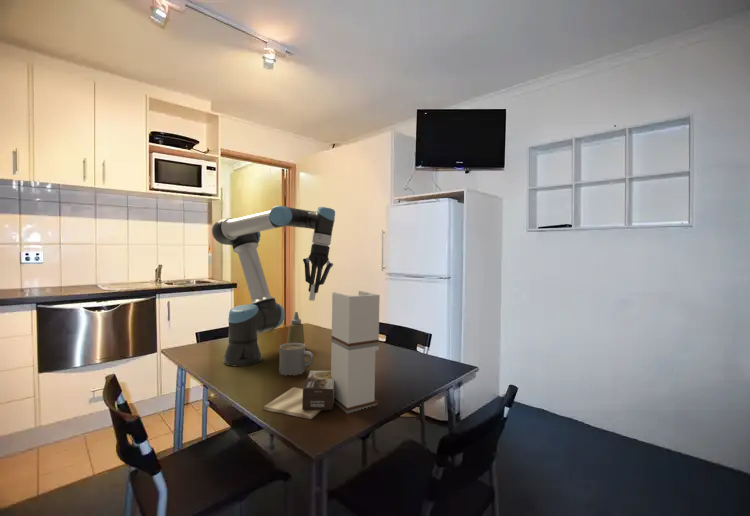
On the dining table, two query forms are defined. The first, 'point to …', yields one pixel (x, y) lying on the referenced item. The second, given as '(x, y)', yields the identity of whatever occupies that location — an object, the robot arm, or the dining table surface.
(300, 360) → the coffee mug
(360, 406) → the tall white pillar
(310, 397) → the coffee box
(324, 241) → the robot arm
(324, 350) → the dining table surface
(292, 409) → the birch board
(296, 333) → the squeeze bottle
